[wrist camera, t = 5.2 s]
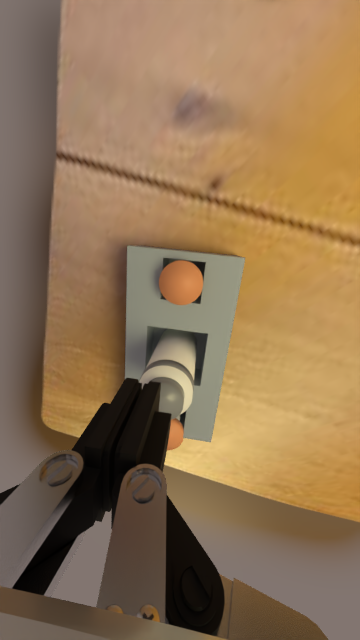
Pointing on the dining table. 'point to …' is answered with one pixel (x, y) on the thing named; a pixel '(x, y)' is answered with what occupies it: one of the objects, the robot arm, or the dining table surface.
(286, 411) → the dining table surface
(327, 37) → the dining table surface
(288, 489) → the dining table surface
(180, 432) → the orange knob plunger
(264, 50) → the dining table surface
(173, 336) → the cartridge
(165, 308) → the housing
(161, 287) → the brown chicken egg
